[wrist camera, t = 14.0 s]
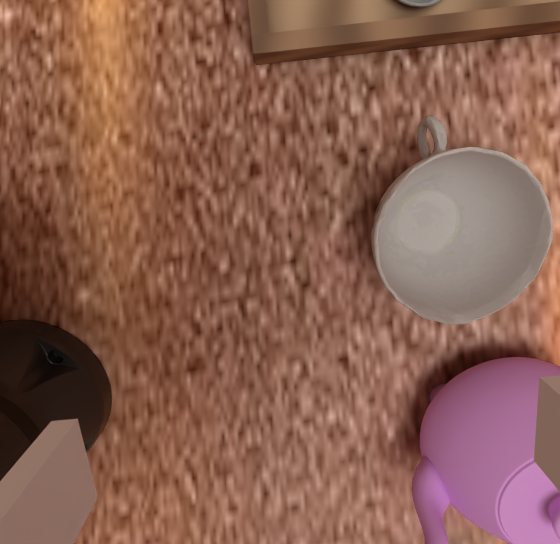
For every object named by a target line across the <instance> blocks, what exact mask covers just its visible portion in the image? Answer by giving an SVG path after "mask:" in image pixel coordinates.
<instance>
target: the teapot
mask: <svg viewBox="0 0 560 544" xmlns="http://www.w3.org/2000/svg"><path fill="white" fill-rule="evenodd" d="M549 376H560V367H559V366H557V365H554V364H552V363H550V362H546V361H543V360H539V359H534V358H527V357H508V358H500V359H495V360H490V361H487V362H484V363H481V364H478V365H476V366H474V367H471V368H469V369H467V370H465V371H464V372H462V373H460V374H459V375H457V376H456V377H454V378H453V379H452V380H450V381H449V382H448V383H447V384H441V385H438V386H436V387H435V388H433V389H432V391H431V392H430V396H429V400H430V402H431V403H430V405H429V406H428V408H427V410H426V413H425V415H424V418H423V421H422V424H421V431H420V450H421V456H422V460H421V462H420V463H419V465H418V467H417V468H416V470H415V473H414V476H413V479H412V495H413V501H414V505H415V508H416V511H417V514H418V517H419V520H420V523H421V526H422V529H423V533H424V538H425V544H449V542H448V537H447V534H446V531H445V528H444V524H443V514H444V511H445V510H446V508H447V507H448V506H449V504H451V505H452V506H453V507H454V508H455V509H456V510H457V511H458V512H459V513H461V514H462V515H463V516H464V517H465V518H467V519H468V520H469V521H471V522H472V523H473V524H475V525H476V526H478V527H480V528H481V529H483V530H485V531H486V532H488V533H490V534H492V535H494V536H496V537H498V538H499V539H501V540H503V541H505V542H507V543H509V544H560V491H559V490H558V489H557V488H556V487H555V485H554V484H553V483H552V482H551V481H550V479H549V478H548V477H547V476H546V475H545V473H544V472H543V471H542V470H541V469H540V467H539V466H538V465H537V464H536V463H535V461H534V449H535V435H536V420H537V406H538V391H539V377H549Z"/></svg>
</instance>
